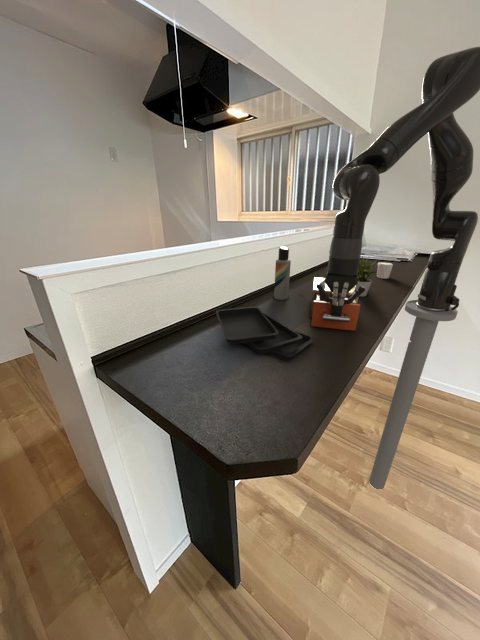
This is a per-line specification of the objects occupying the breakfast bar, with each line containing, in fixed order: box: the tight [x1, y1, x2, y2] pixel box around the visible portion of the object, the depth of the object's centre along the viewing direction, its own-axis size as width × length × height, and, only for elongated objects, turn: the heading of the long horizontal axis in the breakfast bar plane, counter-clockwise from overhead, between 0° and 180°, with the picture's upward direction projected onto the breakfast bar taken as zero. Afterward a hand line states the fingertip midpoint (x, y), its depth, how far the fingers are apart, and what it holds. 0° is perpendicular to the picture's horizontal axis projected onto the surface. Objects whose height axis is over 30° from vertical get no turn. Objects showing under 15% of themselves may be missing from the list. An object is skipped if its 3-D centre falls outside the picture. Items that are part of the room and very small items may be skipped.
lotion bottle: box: [273, 246, 292, 301], centre depth 103 cm, size 6×6×20 cm
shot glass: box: [376, 261, 394, 280], centre depth 133 cm, size 7×7×7 cm
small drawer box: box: [309, 276, 360, 319], centre depth 91 cm, size 16×14×10 cm
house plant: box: [357, 255, 383, 297], centre depth 107 cm, size 14×14×16 cm
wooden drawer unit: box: [310, 293, 361, 332], centre depth 81 cm, size 19×13×8 cm, turn 164°
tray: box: [215, 306, 316, 362], centre depth 73 cm, size 30×23×5 cm
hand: (335, 316), depth 75 cm, fingers closed
